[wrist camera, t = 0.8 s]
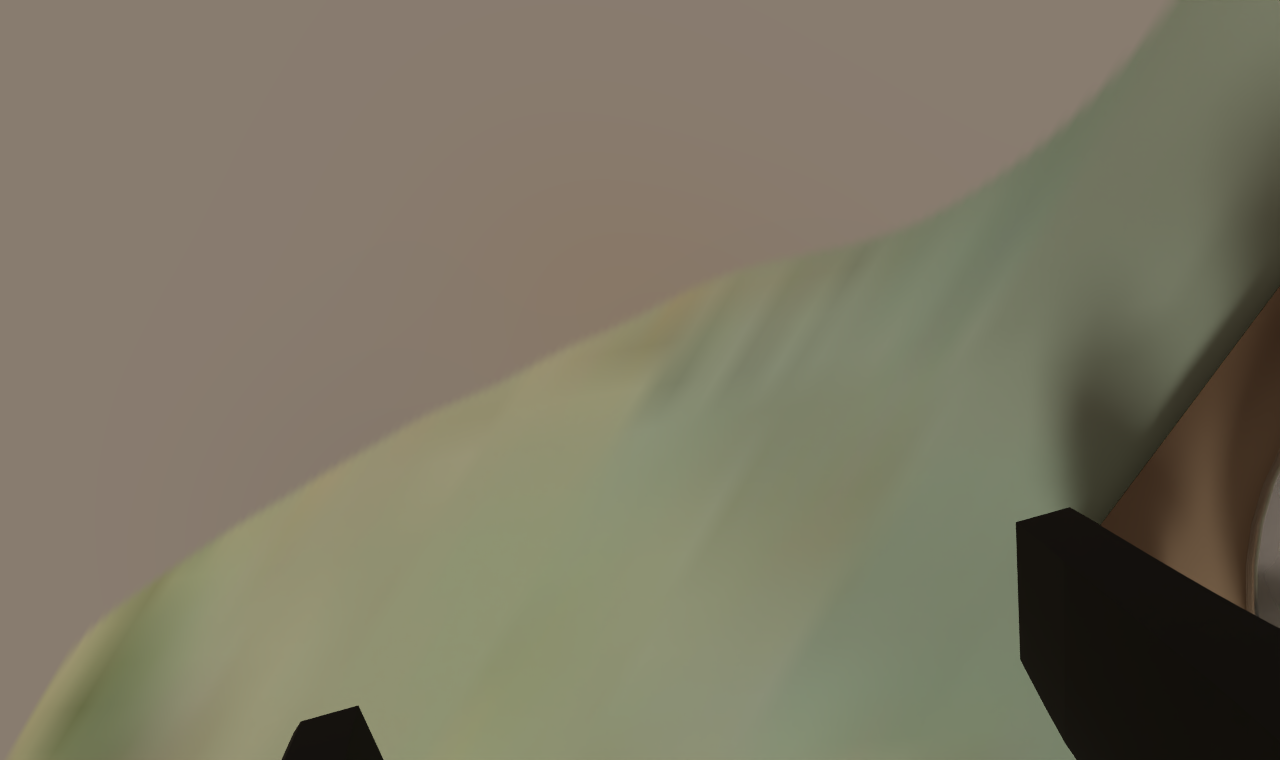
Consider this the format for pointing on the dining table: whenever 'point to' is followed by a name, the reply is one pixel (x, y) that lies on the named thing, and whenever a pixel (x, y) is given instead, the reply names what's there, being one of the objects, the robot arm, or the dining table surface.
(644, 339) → the dining table surface
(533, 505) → the dining table surface
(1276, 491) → the turntable
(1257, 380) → the base board
